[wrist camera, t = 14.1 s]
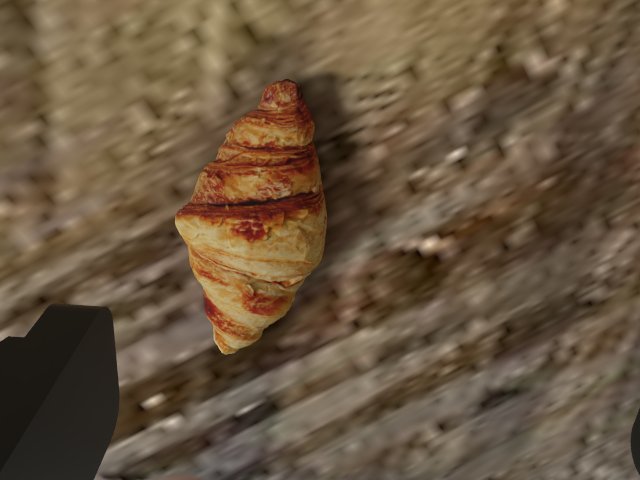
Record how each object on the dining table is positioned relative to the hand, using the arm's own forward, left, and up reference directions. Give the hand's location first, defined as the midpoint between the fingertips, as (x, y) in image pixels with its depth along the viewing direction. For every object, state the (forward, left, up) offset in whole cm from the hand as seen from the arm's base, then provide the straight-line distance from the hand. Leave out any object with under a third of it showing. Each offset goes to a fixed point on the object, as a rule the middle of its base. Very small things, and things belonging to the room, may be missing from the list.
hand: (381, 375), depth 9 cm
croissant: (+12, -5, -33) cm, 36 cm away
